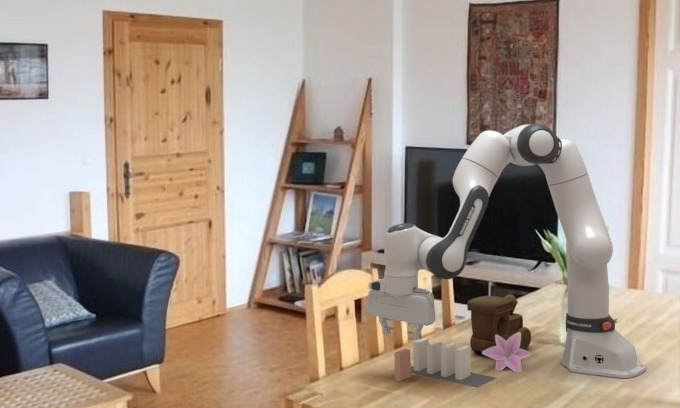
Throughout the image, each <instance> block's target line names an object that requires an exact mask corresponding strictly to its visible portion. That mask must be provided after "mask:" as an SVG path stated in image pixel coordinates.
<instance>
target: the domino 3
mask: <svg viewBox="0 0 680 408" xmlns="http://www.w3.org/2000/svg"><path fill="white" fill-rule="evenodd" d="M442 346H443V341H441V340H438V339H437V340H435V341H432V342H429V344H427V373H429V374H434V373H436V372H438V371H441V347H442Z"/></svg>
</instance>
